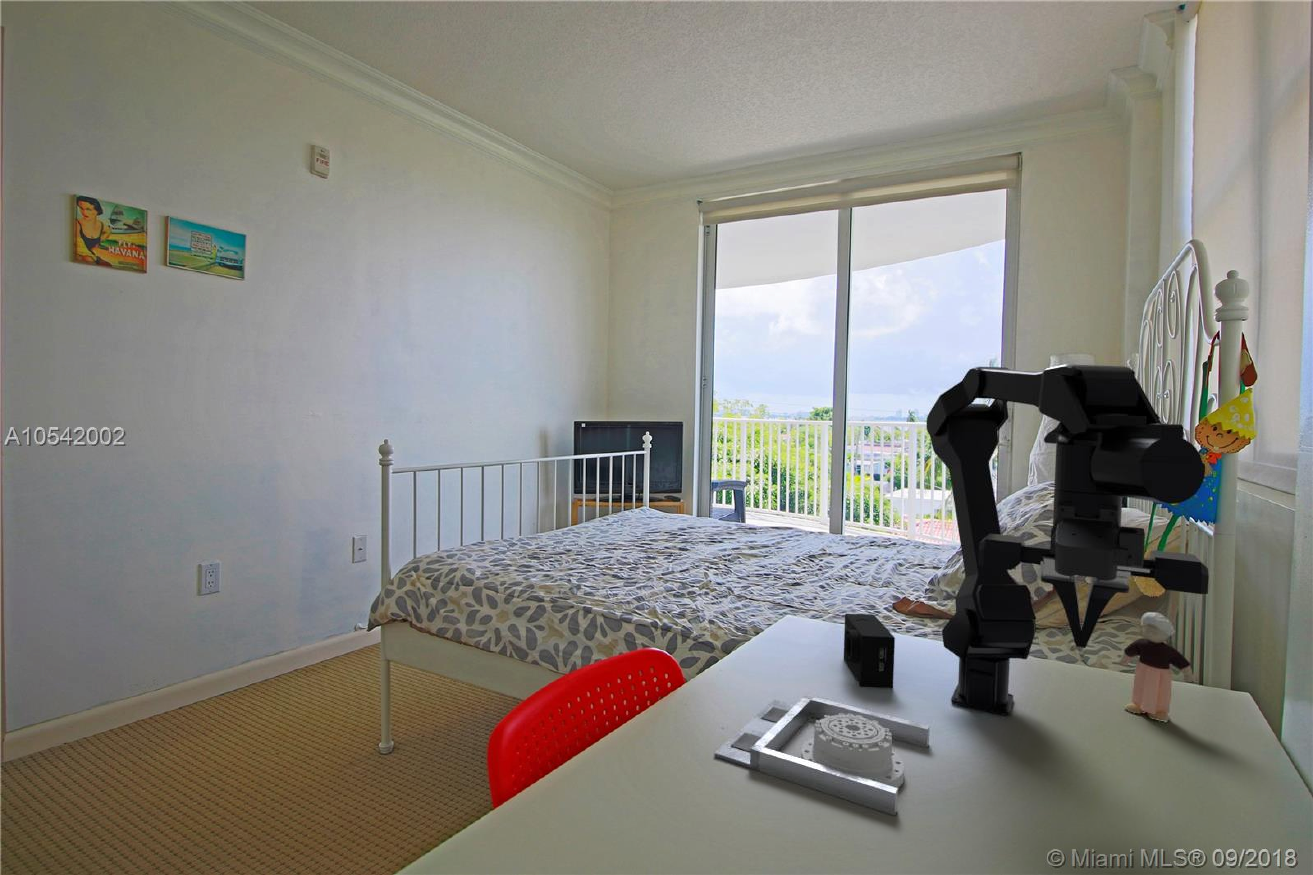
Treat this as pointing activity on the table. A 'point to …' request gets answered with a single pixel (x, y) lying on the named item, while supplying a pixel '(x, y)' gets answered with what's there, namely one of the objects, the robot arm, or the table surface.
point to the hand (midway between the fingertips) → (1080, 646)
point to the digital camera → (869, 651)
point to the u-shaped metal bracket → (777, 726)
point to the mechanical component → (855, 748)
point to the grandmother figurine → (1154, 667)
